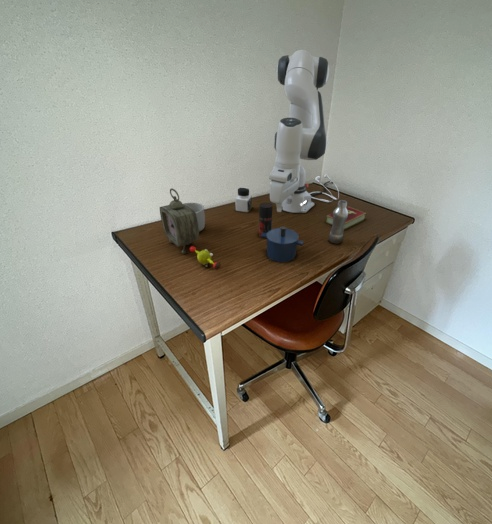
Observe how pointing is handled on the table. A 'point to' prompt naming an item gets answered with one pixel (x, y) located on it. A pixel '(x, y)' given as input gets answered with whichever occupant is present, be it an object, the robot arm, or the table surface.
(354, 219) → the hardcover book
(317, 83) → the robot arm
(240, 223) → the table surface
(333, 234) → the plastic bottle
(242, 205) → the medicine bottle
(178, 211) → the tabletop clock
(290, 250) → the pot
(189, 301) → the table surface
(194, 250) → the toy figure
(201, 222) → the planter
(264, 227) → the deodorant
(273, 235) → the pot lid
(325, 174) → the earphone
